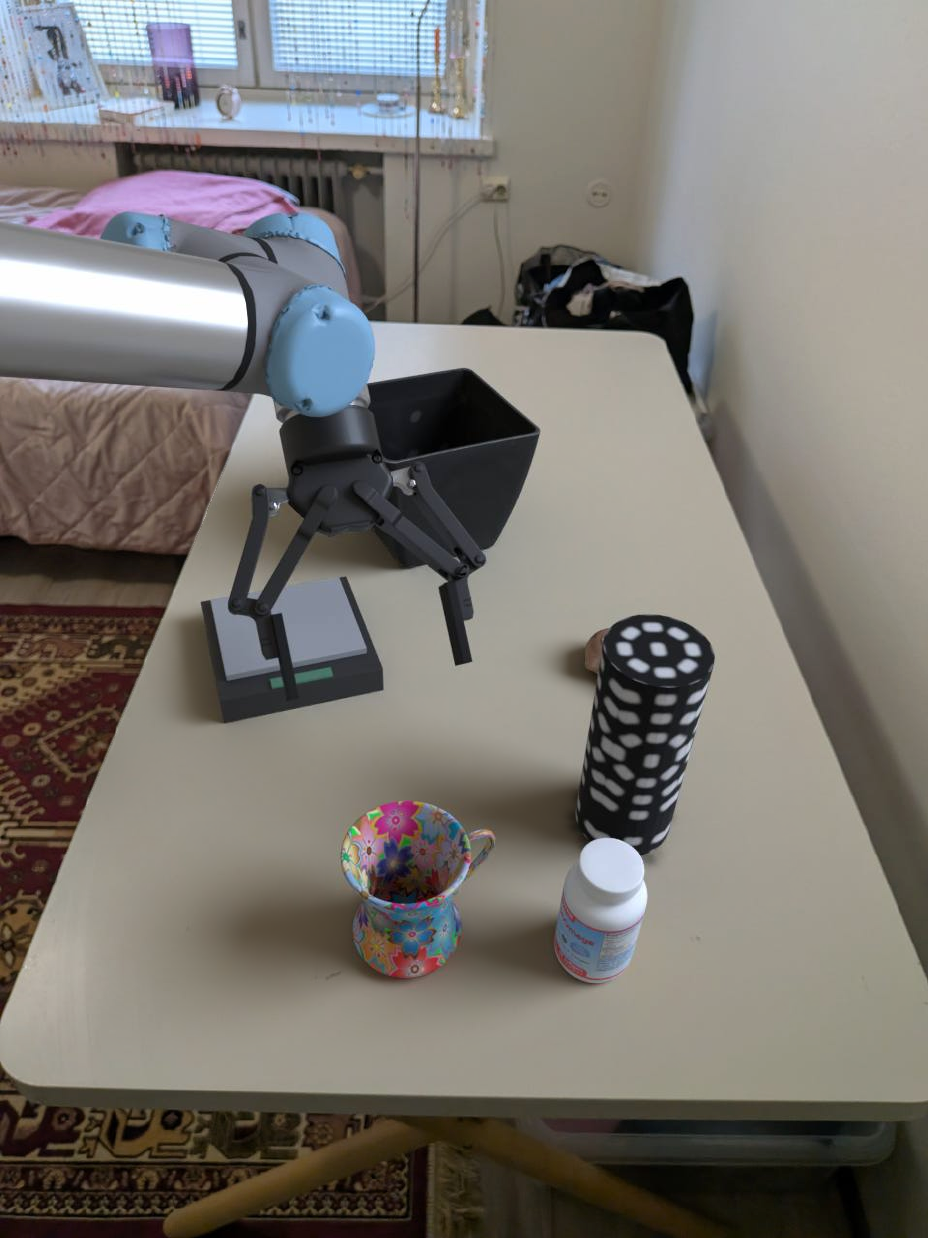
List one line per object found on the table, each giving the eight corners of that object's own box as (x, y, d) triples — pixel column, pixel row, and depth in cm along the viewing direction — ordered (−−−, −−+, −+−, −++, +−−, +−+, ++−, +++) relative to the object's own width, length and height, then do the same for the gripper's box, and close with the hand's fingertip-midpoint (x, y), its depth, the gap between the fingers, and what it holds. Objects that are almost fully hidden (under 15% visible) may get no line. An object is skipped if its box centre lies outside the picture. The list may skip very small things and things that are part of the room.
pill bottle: (540, 930, 73) (553, 842, 66) (608, 906, 75) (627, 818, 68) (575, 998, 69) (593, 912, 62) (646, 971, 71) (671, 884, 64)
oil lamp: (572, 698, 95) (649, 717, 93) (575, 673, 92) (655, 692, 90) (590, 636, 101) (663, 653, 99) (593, 611, 98) (669, 627, 96)
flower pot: (464, 479, 126) (468, 362, 115) (533, 553, 113) (545, 429, 102) (333, 510, 119) (324, 389, 109) (390, 592, 106) (386, 464, 96)
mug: (376, 1009, 68) (371, 929, 61) (330, 910, 74) (321, 827, 67) (517, 943, 72) (527, 861, 66) (463, 855, 79) (467, 772, 72)
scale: (224, 723, 90) (218, 695, 87) (204, 622, 101) (199, 595, 99) (383, 690, 94) (382, 662, 92) (347, 596, 106) (345, 570, 103)
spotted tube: (677, 857, 79) (726, 688, 66) (581, 856, 79) (611, 687, 66) (660, 782, 86) (701, 614, 73) (570, 781, 85) (596, 613, 73)
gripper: (463, 412, 80) (515, 653, 78) (164, 452, 73) (216, 716, 72) (487, 381, 72) (545, 645, 71) (158, 422, 66) (215, 715, 65)
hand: (380, 682), depth 71 cm, fingers open, 13 cm apart
